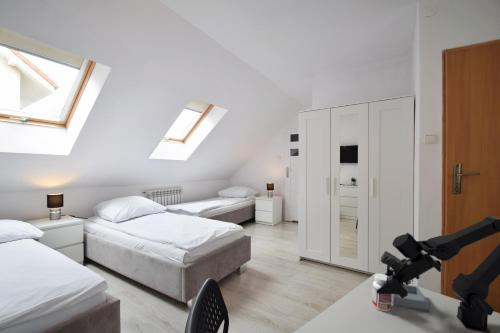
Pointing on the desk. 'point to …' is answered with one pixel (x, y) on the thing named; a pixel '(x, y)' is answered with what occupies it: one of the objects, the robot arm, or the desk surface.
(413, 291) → the slate tray
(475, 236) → the robot arm
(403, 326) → the desk surface
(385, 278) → the pill bottle
